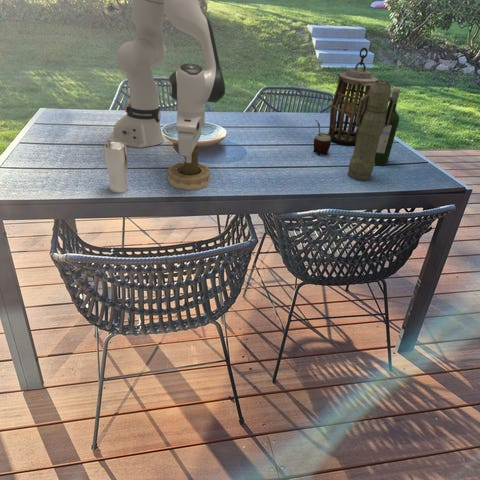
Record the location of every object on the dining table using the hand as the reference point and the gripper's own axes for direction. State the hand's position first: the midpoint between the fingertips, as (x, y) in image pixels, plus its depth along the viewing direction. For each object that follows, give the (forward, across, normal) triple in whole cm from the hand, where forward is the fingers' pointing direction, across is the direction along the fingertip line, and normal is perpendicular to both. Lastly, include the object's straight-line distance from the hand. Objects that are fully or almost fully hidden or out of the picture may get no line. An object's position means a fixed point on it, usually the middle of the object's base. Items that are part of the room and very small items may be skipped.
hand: (190, 158), depth 146 cm
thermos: (+9, -20, +62) cm, 66 cm away
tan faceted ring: (+8, 0, 0) cm, 8 cm away
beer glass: (+8, +12, -22) cm, 26 cm away
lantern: (+9, -61, +61) cm, 87 cm away
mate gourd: (+9, -40, +48) cm, 63 cm away
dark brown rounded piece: (+6, 0, 0) cm, 7 cm away
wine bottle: (+9, -37, +72) cm, 81 cm away
